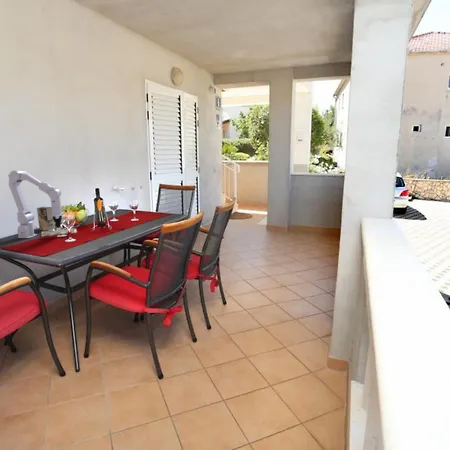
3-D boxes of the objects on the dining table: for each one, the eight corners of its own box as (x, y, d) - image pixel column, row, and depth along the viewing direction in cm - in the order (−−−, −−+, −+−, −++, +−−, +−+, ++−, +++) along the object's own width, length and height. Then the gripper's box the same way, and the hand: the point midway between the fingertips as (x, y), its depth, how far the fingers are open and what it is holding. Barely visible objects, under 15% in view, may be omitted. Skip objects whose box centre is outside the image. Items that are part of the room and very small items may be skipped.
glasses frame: (44, 234, 223) (42, 224, 222) (44, 233, 227) (42, 223, 225) (73, 231, 231) (72, 222, 230) (73, 230, 234) (72, 221, 233)
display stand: (41, 236, 228) (40, 230, 227) (41, 233, 237) (41, 227, 236) (76, 233, 238) (76, 227, 237) (76, 230, 246) (75, 224, 245)
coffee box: (55, 228, 251) (53, 207, 248) (49, 230, 245) (46, 208, 242) (45, 227, 254) (43, 206, 250) (39, 229, 248) (36, 207, 244)
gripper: (63, 208, 220) (65, 228, 223) (62, 205, 233) (64, 224, 236) (51, 209, 217) (53, 229, 220) (51, 205, 230) (53, 225, 233)
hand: (58, 227), depth 228 cm, fingers closed on glasses frame, 2 cm apart
